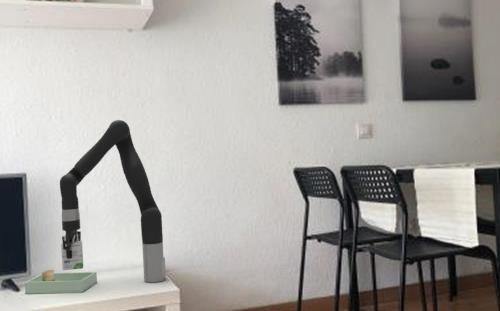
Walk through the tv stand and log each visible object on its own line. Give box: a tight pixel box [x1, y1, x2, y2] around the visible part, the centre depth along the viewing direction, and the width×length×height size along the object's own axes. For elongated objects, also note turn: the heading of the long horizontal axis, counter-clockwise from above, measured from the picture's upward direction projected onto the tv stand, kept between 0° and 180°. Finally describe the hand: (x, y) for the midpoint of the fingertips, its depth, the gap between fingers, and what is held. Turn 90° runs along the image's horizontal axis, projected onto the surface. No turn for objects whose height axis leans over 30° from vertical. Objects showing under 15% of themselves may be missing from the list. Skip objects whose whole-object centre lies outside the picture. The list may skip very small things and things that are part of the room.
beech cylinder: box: [41, 269, 55, 281], centre depth 226 cm, size 5×5×7 cm
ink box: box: [61, 240, 84, 271], centre depth 225 cm, size 8×5×12 cm, turn 105°
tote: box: [24, 271, 98, 295], centre depth 225 cm, size 26×16×5 cm, turn 85°
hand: (72, 256), depth 225 cm, fingers closed on ink box, 6 cm apart
